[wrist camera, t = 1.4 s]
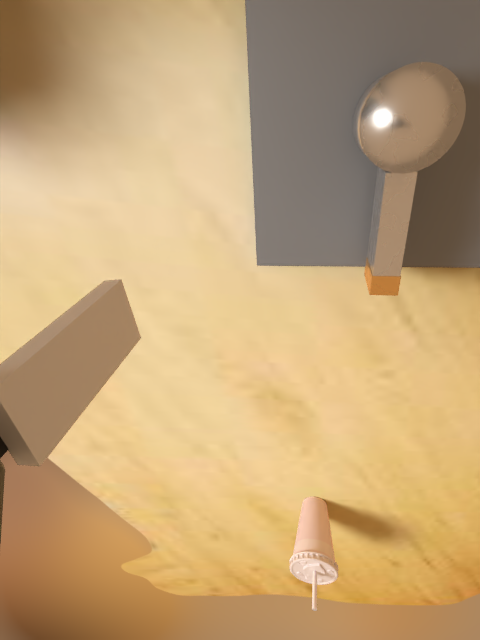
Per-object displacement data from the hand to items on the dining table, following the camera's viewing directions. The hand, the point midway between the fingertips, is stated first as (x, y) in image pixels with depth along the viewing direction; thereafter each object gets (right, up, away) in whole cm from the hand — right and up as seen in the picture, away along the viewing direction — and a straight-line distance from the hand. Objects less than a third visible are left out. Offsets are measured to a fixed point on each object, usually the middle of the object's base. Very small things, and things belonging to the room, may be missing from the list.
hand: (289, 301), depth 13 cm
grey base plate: (+10, +16, +16) cm, 25 cm away
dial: (+10, +11, +16) cm, 22 cm away
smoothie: (+10, -29, +43) cm, 53 cm away
